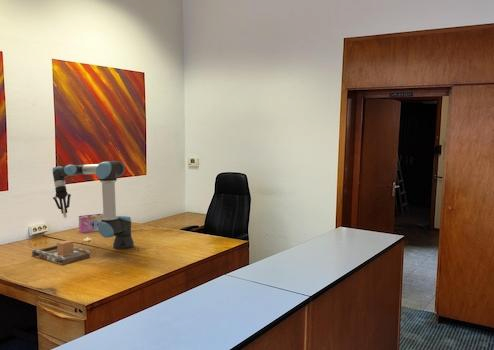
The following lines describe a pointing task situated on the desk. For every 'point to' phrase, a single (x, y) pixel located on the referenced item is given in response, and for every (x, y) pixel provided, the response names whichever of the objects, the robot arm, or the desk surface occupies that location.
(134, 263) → the desk surface
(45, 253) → the rail track section
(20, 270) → the desk surface
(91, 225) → the gum box
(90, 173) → the robot arm
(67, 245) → the terracotta block
